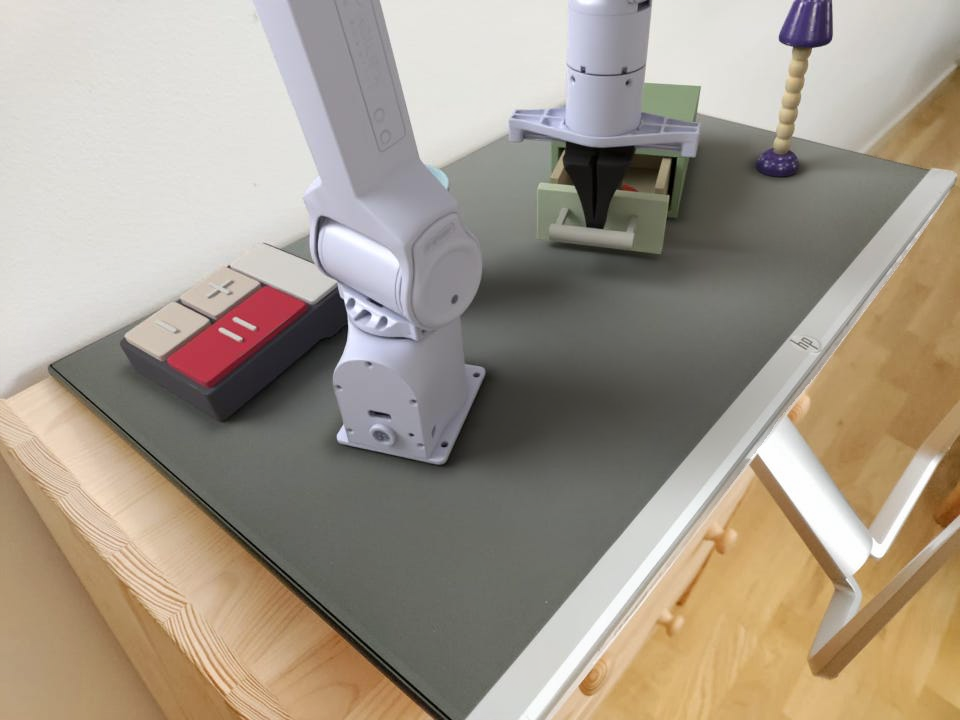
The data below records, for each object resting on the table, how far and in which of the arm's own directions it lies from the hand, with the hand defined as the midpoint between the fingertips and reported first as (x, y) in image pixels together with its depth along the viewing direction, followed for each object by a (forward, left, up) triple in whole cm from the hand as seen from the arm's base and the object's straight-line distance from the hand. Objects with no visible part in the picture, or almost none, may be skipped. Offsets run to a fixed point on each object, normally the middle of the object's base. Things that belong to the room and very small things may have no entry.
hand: (596, 225), depth 60 cm
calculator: (-17, +25, -4) cm, 30 cm away
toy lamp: (+22, -15, -4) cm, 27 cm away
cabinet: (+17, 0, -4) cm, 18 cm away
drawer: (+7, 0, -3) cm, 7 cm away
